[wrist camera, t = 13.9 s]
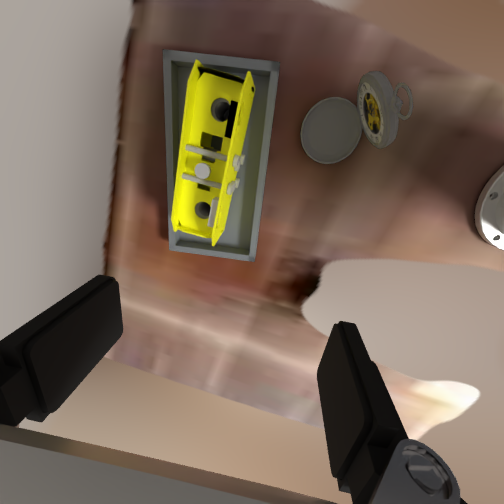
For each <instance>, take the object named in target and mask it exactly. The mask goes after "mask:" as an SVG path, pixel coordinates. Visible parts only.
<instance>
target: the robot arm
mask: <svg viewBox="0 0 504 504" xmlns="http://www.w3.org/2000/svg"><path fill="white" fill-rule="evenodd" d="M475 225H476V227H477V230H478V233H479V234H480V235H481V237H482V238H483V239H484V240H485V241H486V242H488V243H489V244H491V245H493V246H495V247H497V248H499V249H502V250H504V165H503V166H502V167H501V168H500V169H499V170H498V171H497V172H496V173H495V174H494V175H493V176H492V177H491V179H490V180H489V181H488V183H487V184H486V185H485V187H484V189H483V190H482V192H481V194H480V196H479V199H478V202H477V204H476V209H475ZM122 333H123V322H122V312H121V303H120V293H119V284H118V282H117V281H116V280H115V278H114V277H110V276H105V275H97V276H96V277H95V278H93V279H92V280H90V281H88V282H87V283H85V284H84V285H82V286H81V287H79V288H78V289H76V290H75V291H73V292H72V293H70V294H69V295H67V296H66V297H65V298H63V299H62V300H60V301H59V302H57V303H56V304H54V305H53V306H51V307H50V308H48V309H47V310H45V311H44V312H42V313H41V314H39V315H38V316H36V317H35V318H33V319H32V320H30V321H29V322H28V323H26V324H24V325H23V326H21V327H20V328H19V329H17V330H15V331H14V332H13V333H11V334H10V335H8V336H7V337H5V338H4V339H2V340H1V341H0V504H337V503H334V502H330V501H326V500H322V499H319V498H315V497H311V496H307V495H304V494H300V493H296V492H292V491H288V490H284V489H280V488H277V487H272V486H268V485H264V484H260V483H256V482H251V481H247V480H243V479H239V478H234V477H230V476H226V475H222V474H218V473H214V472H209V471H205V470H201V469H197V468H193V467H188V466H184V465H180V464H176V463H171V462H167V461H162V460H158V459H154V458H150V457H145V456H141V455H137V454H133V453H128V452H124V451H120V450H115V449H111V448H107V447H102V446H98V445H93V444H89V443H85V442H80V441H75V440H71V439H67V438H62V437H58V436H54V435H49V434H45V433H40V432H36V431H32V430H27V429H22V428H19V423H20V422H21V421H22V420H23V419H24V418H25V417H26V418H27V419H29V420H33V421H37V422H43V421H44V420H45V418H46V417H47V416H48V415H49V414H50V413H53V412H55V411H56V410H57V409H58V408H59V407H60V406H61V405H62V404H63V403H64V401H65V400H66V399H67V398H68V397H69V396H70V394H71V393H72V392H73V391H74V390H75V389H76V388H77V386H78V385H79V384H80V383H81V382H82V381H83V379H84V378H85V377H86V376H87V375H88V374H89V373H90V372H91V370H92V369H93V368H94V367H95V366H96V364H97V363H98V362H99V361H100V360H101V359H102V358H103V357H104V355H105V354H106V353H107V352H108V351H109V350H110V349H111V347H112V346H113V345H114V344H115V343H116V342H117V340H118V339H119V338H120V337H121V335H122ZM317 381H318V388H319V394H320V401H321V407H322V414H323V421H324V427H325V434H326V441H327V447H328V454H329V460H330V467H331V473H332V475H333V477H335V478H337V481H338V487H339V491H342V492H346V493H350V494H351V497H352V502H353V504H467V503H466V502H465V501H464V500H463V499H462V498H461V497H460V489H459V486H458V483H457V480H456V478H455V476H454V475H453V473H452V471H451V469H450V468H449V466H448V465H447V464H446V463H445V462H444V461H443V459H442V458H441V457H440V456H439V455H438V454H437V453H436V452H435V451H433V450H432V449H431V448H429V447H428V446H426V445H425V444H423V443H421V442H419V441H416V440H413V439H409V438H408V436H407V434H406V432H405V429H404V427H403V425H402V422H401V420H400V418H399V415H398V413H397V411H396V409H395V406H394V404H393V402H392V399H391V397H390V395H389V393H388V390H387V388H386V386H385V383H384V381H383V379H382V376H381V374H380V372H379V370H378V367H377V366H376V364H375V363H374V362H373V361H371V360H370V357H369V355H368V352H367V350H366V348H365V345H364V343H363V341H362V338H361V336H360V333H359V331H358V329H357V326H356V324H354V323H349V322H343V321H340V322H339V323H338V324H334V326H333V328H332V331H331V334H330V336H329V339H328V342H327V345H326V347H325V350H324V353H323V356H322V358H321V361H320V364H319V367H318V370H317Z"/></svg>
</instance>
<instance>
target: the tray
mask: <svg viewBox="0 0 504 504" xmlns="http://www.w3.org/2000/svg"><path fill="white" fill-rule="evenodd" d="M196 60H199V61H200V63H201V64H202V65H203V66H204V67H207V68H211V69H214V70H218V71H221V72H225V73H228V74H231V75H235V76H238V77H240V78H242V79H244V80H245V78H246V75H247V72H248V71H250V72H251V76H252V79H253V82H254V86H255V94H254V98H253V103H252V107H251V112H250V116H249V121H248V125H247V130H246V134H245V139H244V143H243V148H242V153H241V154H244V155H245V160H244V164H243V165H240V168H239V171H238V172H237V175H236V178H239V179H240V182H239V186H238V188H235V190H234V192H233V193H232V198H231V202H230V207H229V211H228V216H227V220H226V225H225V229H224V231H223V233H222V234H221V236H220V237H219V239H218V241H217V242H216V244H215V245H214V246H212V238H204V237H200V236H196V235H193V234H189V233H185V232H182V231H180V230H177V231H176V232H174V230H173V226H172V221H171V215H172V207H173V198H174V190H175V182H176V174H177V165H178V157H179V149H180V141H181V132H182V124H183V116H184V108H185V99H186V91H187V83H188V79H189V76H190V74H191V71H192V68H193V66H194V63H195V61H196ZM279 70H280V62H276V61H267V60H258V59H248V58H239V57H230V56H221V55H211V54H202V53H193V52H184V51H174V50H165V49H163V75H164V106H165V136H166V167H167V197H168V228H169V250H172V251H179V252H186V253H194V254H201V255H208V256H216V257H223V258H230V259H237V260H245V261H252V262H255V256H256V249H257V241H258V234H259V226H260V218H261V210H262V203H263V195H264V187H265V179H266V171H267V164H268V156H269V148H270V140H271V133H272V125H273V117H274V109H275V102H276V94H277V86H278V78H279ZM228 114H229V110H227V111H226V112H225V114H224V121H226V120H227V119H228ZM222 142H223V138H222V137H219V136H215V135H212V141H211V147H214V149H216V150H220V151H221V147H222Z"/></svg>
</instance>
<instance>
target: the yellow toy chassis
mask: <svg viewBox="0 0 504 504" xmlns="http://www.w3.org/2000/svg"><path fill="white" fill-rule="evenodd" d="M254 94H255V86H254V82H253V79H252V76H251V72H250V71H248V72H247V75H246V78H245V80H244V79H242V78H240V77H238V76H235V75H231V74H228V73H225V72H221V71H218V70H214V69H211V68H207V67H204V66H203V65H202V64H201V63H200V61H199V60H196V61H195V63H194V66H193V68H192V71H191V74H190V76H189V79H188V83H187V91H186V99H185V108H184V116H183V124H182V132H181V141H180V149H179V157H178V165H177V174H176V182H175V190H174V198H173V207H172V215H171V221H172V226H173V230H174V232H176V231H177V230H180V231H182V232H185V233H189V234H193V235H196V236H200V237H204V238H212V246H214V245H215V244H216V242H217V241H218V239H219V237H220V236H221V234H222V233H223V231H224V229H225V225H226V220H227V216H228V211H229V207H230V202H231V198H232V193H233V192H234V190H235V188H238V186H239V182H240V179H239V178H236V175H237V172H238V171H239V168H240V165H243V164H244V160H245V155H244V154H241V153H242V148H243V143H244V139H245V134H246V130H247V125H248V121H249V116H250V112H251V107H252V103H253V98H254ZM227 110H229V114H228V119H227V120H226V121H224V114H225V112H226V111H227ZM212 135H215V136H219V137H222V138H223V142H222V147H221V151H220V150H216V149H214V147H211V141H212Z"/></svg>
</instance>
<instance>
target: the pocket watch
mask: <svg viewBox="0 0 504 504" xmlns="http://www.w3.org/2000/svg"><path fill="white" fill-rule="evenodd" d="M400 87H402V88H404V89H405V90H406V91H407V94H408V97H409V112H408V114H407V115H406V116H403V115H402V114H401V113H400V110H401V106H402V104H403V102H402V100H400V98H399V97H398V96H397V91H398V89H399V88H400ZM412 109H413V99H412V94H411V91H410V89H409V87H408V86H407V85H406V84H405V83H399V84H398V85H397V86H396V88H395V90H394V91H393V88H392V86H391V84H390V82H389V80H388V79H387V77H386V76H385V75H384V74H383V73H382V72H380V71H373V72H368V73H367V74H365V75H363V76H362V78H361V80H360V83H359V86H358V91H357V107H356V106H355V105H354V104H353V103H352V102H350V101H349V100H347V99H345V98H341V97H330V98H326V99H323V100H321V101H319V102H318V103H317V104H316V105H314V106H313V107H312V108H311V109H310V110H309V111H308V113H307V115H306V117H305V118H304V120H303V122H302V127H301V133H300V137H301V143H302V147H303V149H304V151H305V152H306V154H307V155H308V156H309V157H310V158H311V159H313V160H314V161H316V162H319V163H322V164H332V163H336V162H339V161H341V160H343V159H345V158H346V157H348V156H349V155H350V154H351V153H352V152H353V150H354V149H355V148H356V146H357V144H358V142H359V140H360V137H361V134H362V129H363V131H364V133H365V135H366V137H367V139H368V140H369V141H370V143H371V144H372V145H374V146H375V147H376V148H378V149H383V148H385V147H387V146H388V145H390V144H391V143H392V142H393V141H394V140H395V138H396V136H397V131H398V123H399V118H401V119H402V120H407V119H408V118H409V117H410V116H411V114H412ZM378 115H379V117H378ZM398 116H399V117H398ZM379 118H380V119H379ZM379 123H380V124H379Z"/></svg>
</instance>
